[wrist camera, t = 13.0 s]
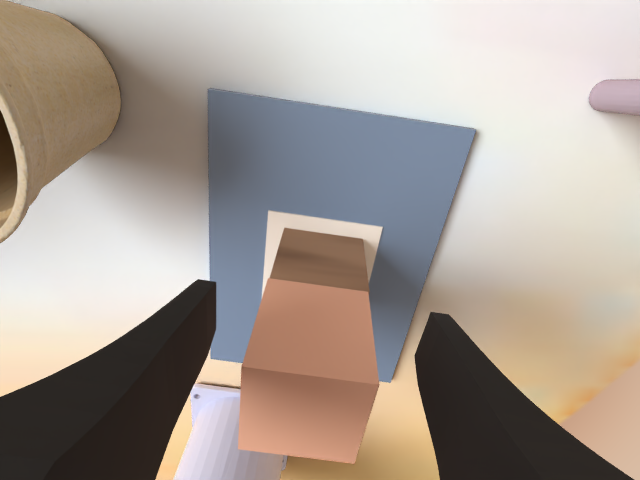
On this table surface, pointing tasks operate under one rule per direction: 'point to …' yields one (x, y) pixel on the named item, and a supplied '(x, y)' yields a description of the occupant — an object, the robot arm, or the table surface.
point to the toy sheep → (616, 96)
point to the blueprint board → (325, 203)
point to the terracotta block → (308, 373)
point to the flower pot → (47, 104)
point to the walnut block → (321, 260)
